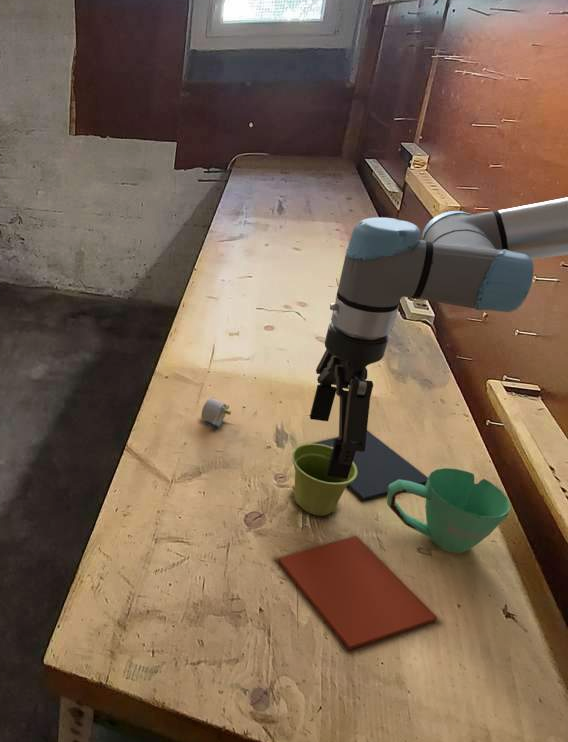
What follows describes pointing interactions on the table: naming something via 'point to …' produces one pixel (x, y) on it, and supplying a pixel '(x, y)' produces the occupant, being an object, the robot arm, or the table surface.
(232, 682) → the table surface
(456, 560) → the table surface
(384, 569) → the terracotta mat
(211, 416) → the electric motor
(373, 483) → the charcoal mat
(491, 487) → the mug
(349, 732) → the table surface
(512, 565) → the table surface
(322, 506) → the plant pot
